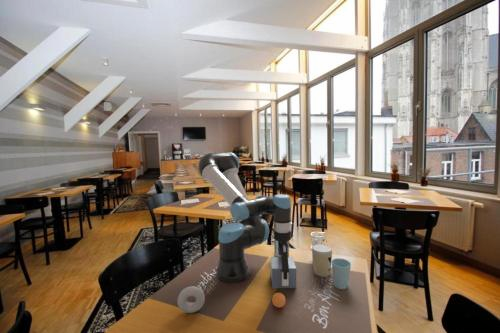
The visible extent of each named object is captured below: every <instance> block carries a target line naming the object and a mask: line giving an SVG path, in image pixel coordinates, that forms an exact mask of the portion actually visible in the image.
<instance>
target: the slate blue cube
mask: <svg viewBox="0 0 500 333" xmlns="http://www.w3.org/2000/svg"><path fill="white" fill-rule="evenodd" d="M288 264H289V272H288V280H289V286H282V272H281V271H280V270H282V261H281V257H277V256H273V257H272V256H270V279H271V288H272V289H297V267H296V263H295V260H294V257H293V256H288Z"/></svg>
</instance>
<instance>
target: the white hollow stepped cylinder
mask: <svg viewBox="0 0 500 333" xmlns="http://www.w3.org/2000/svg"><path fill="white" fill-rule="evenodd" d="M319 235H321V236H319ZM325 236H326V232H324V231H312V232H311V233H310V237H311V246H310V250H311V251H312V247H313V246H314V245H316V244H324V240H325V239H326V237H325Z"/></svg>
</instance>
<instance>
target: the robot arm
mask: <svg viewBox="0 0 500 333" xmlns="http://www.w3.org/2000/svg"><path fill="white" fill-rule="evenodd" d="M197 165H198V166H197V169H198V172H199V174H200V176H201V178H202V179H204V180H206V181H208V182H209V183H210V185H211V186H212V187H213V188H214V189H215V190H216V191H217V193H218V194H219V196H221V198H222V199H223V200H224V201H225V202H226V203H227V204H228V205H229V207H230V209H229V211H230V212H229V213H230V215H231V217H232V219H233V220H234V221H237V222H230V223H229V222H228V223H227V224H226V223H225V224H224V225H222V226H221V227H220V228H219V231H218V238H217V239H218V250H219V253H218V254H219V260H218V265H217V268H216V270H215V272H216V278H217V279H218V280H219V281H221V282H224V283H237V282H241V281H243V280H244V279H247V277H248V276H249V268H248V267H249V266H248V264H247V261H246V258H245V250H247V249H249V248H252V247H255V246H257V245H261V244H262V243H264V242H266V241H267V240H268V239H269V234H270V228H269V224H268V222H267V221H266V220H265V219H263V218H261V217H260V216H261V215H265V214H268V215H272V216H273V238H274V239H273V240H274V241H275V240H276V241H278V254H279V257H281V261H282V270H280V271H281V272H282V286H289V280H288V272H289V264H288V257H289V256H288V244H287V241H289V242H290V241H291V240H292V226H293V222H292V200H291V197H290V195H289V194H281V193H280V194H274V195H273V197H270V196H267V195H257V196H256V197H255V198H253V199H249V198H248V196H247V193H246V191H245V188H244V186H243V184H242V182H241V179H240V177H239V175H238V173H239V171H240V170H239V168H240V160H239V157H238V156H237V155H236V154H235V153H234V152H227V151H224V152H211V153H205V154H204V155H202V157H201V158H200V159H199V161H198V164H197Z"/></svg>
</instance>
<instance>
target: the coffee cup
mask: <svg viewBox="0 0 500 333" xmlns="http://www.w3.org/2000/svg"><path fill="white" fill-rule="evenodd" d="M311 252H312V253H311V255H312V256H311V257H312V269H313V273H314V274H315V275H316V276H319V277H328V276H330V275H331V270H332V260H333V259H332V255H333V248H332V247H331V245H327V244H324V243H323V244H316V245H314V246H313V247H312V250H311Z"/></svg>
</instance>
